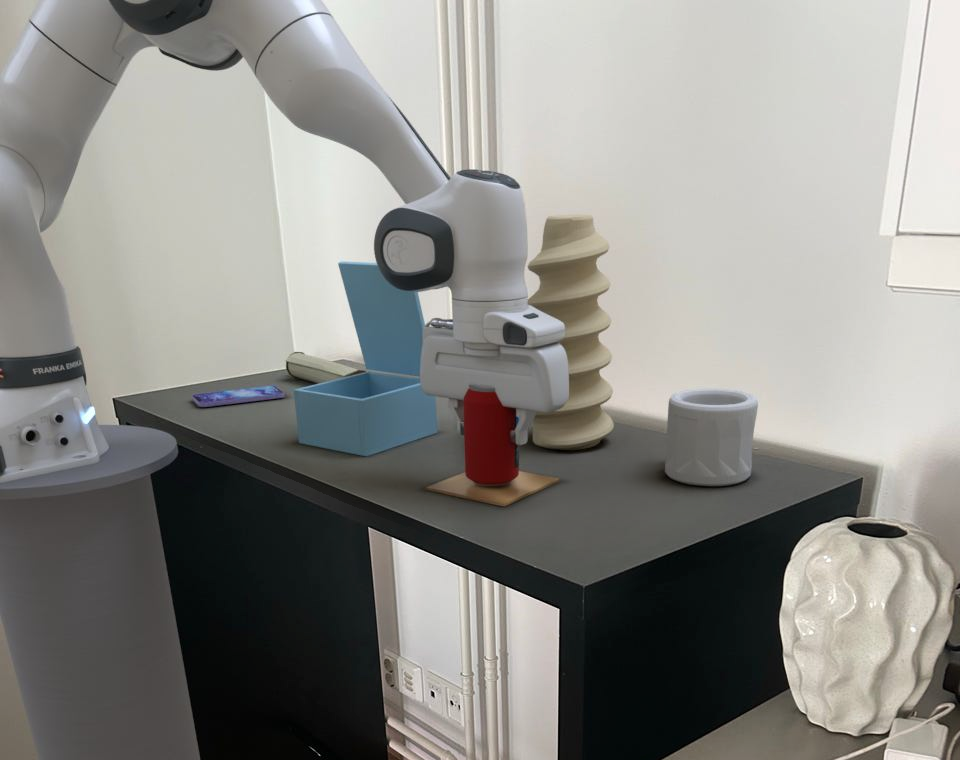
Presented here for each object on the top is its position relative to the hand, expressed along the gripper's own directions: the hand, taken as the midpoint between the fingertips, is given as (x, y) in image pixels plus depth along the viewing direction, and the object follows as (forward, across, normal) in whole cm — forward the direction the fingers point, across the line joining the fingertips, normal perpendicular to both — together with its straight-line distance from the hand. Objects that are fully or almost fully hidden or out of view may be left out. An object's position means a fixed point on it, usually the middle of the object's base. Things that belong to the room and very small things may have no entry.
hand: (492, 439), depth 122 cm
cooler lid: (-10, -30, +14) cm, 35 cm away
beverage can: (+6, 0, 0) cm, 6 cm away
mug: (+6, +19, +19) cm, 28 cm away
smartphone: (+6, -68, +16) cm, 70 cm away
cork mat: (+6, 0, 0) cm, 6 cm away
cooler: (+6, -30, +9) cm, 32 cm away
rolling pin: (+6, -61, +31) cm, 69 cm away
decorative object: (+6, -4, +23) cm, 24 cm away
